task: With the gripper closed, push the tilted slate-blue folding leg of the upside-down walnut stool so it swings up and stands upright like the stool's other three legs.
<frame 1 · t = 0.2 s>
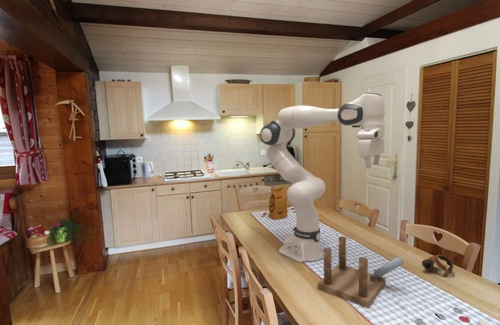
hand: (372, 166, 115), 47 cm above the table, tool pointing down, fingers open, 8 cm apart
coffee package: (278, 217, 204), on the table
hinged leg: (387, 267, 110), point 9 cm above the table, hinge at 45.0°
stool seat: (351, 286, 113), on the table
pottery mug: (435, 272, 121), on the table
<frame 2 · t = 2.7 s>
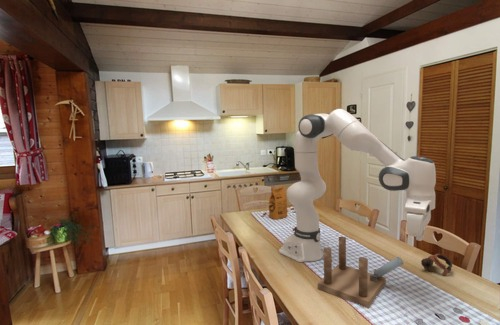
hand: (419, 239, 101), 23 cm above the table, tool pointing down, fingers closed
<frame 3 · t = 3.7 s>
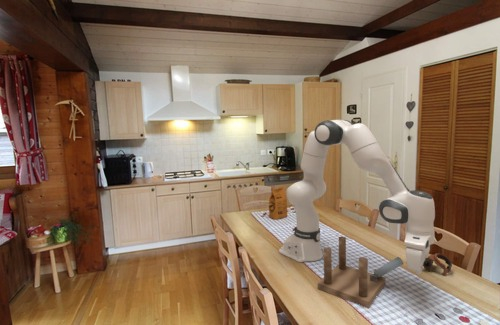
hand: (419, 271, 102), 10 cm above the table, tool pointing down, fingers closed
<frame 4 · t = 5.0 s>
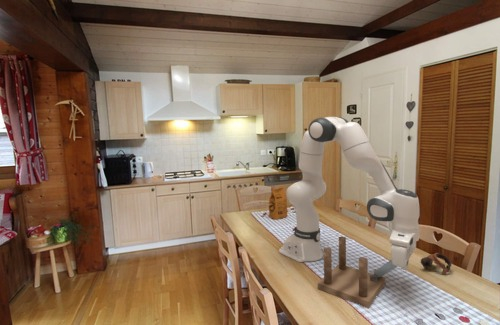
hand: (404, 268, 106), 10 cm above the table, tool pointing down, fingers closed, pressing on hinged leg
hinged leg: (387, 267, 110), point 9 cm above the table, hinge at 43.9°, touching gripper
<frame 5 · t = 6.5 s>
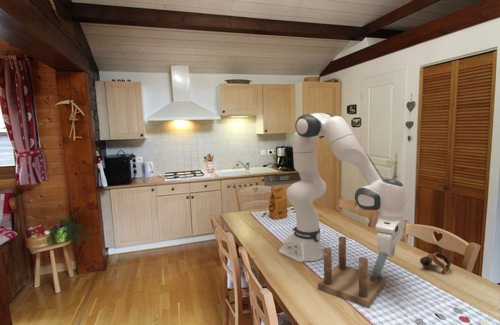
hand: (390, 255, 108), 14 cm above the table, tool pointing down, fingers closed, pressing on hinged leg
hinged leg: (380, 261, 111), point 10 cm above the table, hinge at 16.0°, touching gripper
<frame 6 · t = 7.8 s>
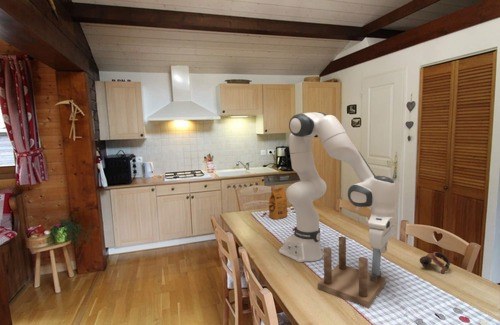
hand: (383, 251, 110), 15 cm above the table, tool pointing down, fingers closed, pressing on hinged leg
hinged leg: (376, 260, 112), point 10 cm above the table, hinge at 2.2°, touching gripper
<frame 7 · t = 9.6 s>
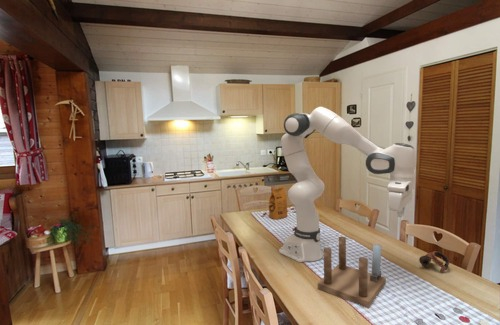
hand: (400, 216, 115), 27 cm above the table, tool pointing down, fingers closed
hinged leg: (376, 260, 112), point 10 cm above the table, hinge at 2.2°
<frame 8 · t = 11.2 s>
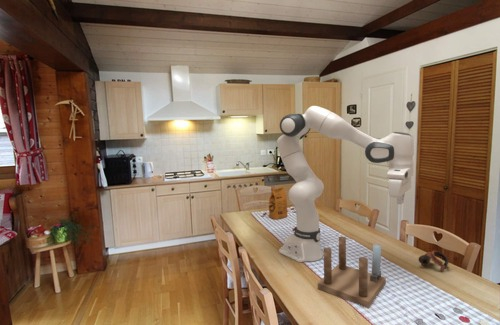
hand: (400, 203, 118), 31 cm above the table, tool pointing down, fingers closed
at the end: hinged leg at +2° (first picture: +45°) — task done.
